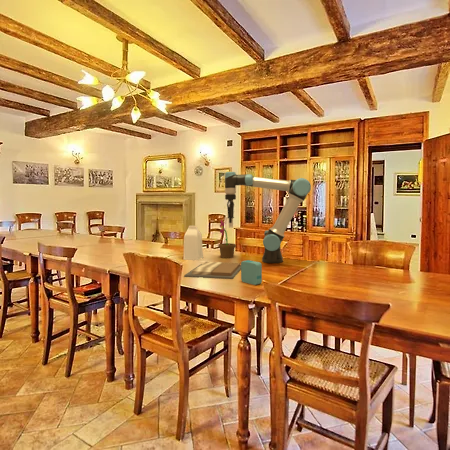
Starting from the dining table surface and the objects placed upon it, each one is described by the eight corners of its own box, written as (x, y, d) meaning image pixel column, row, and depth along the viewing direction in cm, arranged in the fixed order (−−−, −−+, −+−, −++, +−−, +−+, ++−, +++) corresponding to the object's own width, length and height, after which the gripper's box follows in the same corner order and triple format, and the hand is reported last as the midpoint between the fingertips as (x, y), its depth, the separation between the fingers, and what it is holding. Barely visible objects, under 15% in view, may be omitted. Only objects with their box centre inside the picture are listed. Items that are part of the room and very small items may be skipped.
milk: (183, 259, 259) (182, 226, 256) (189, 257, 270) (188, 225, 267) (197, 260, 255) (197, 226, 253) (203, 257, 266) (202, 225, 264)
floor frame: (243, 266, 230) (243, 262, 230) (232, 279, 196) (232, 273, 196) (201, 265, 237) (201, 261, 237) (184, 276, 203) (184, 271, 203)
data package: (262, 284, 184) (261, 262, 183) (256, 285, 181) (256, 263, 180) (246, 280, 193) (246, 259, 192) (240, 281, 190) (240, 260, 189)
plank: (222, 265, 231) (222, 262, 230) (210, 275, 202) (210, 271, 201) (205, 264, 233) (205, 261, 233) (191, 274, 204) (191, 271, 204)
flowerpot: (216, 256, 271) (215, 219, 269) (232, 255, 276) (232, 218, 273) (221, 259, 258) (220, 220, 255) (238, 258, 262) (238, 220, 260)
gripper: (227, 194, 242) (227, 226, 244) (223, 194, 230) (223, 228, 232) (237, 194, 241) (237, 226, 243) (233, 193, 228) (234, 228, 230)
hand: (230, 227), depth 237 cm, fingers closed
